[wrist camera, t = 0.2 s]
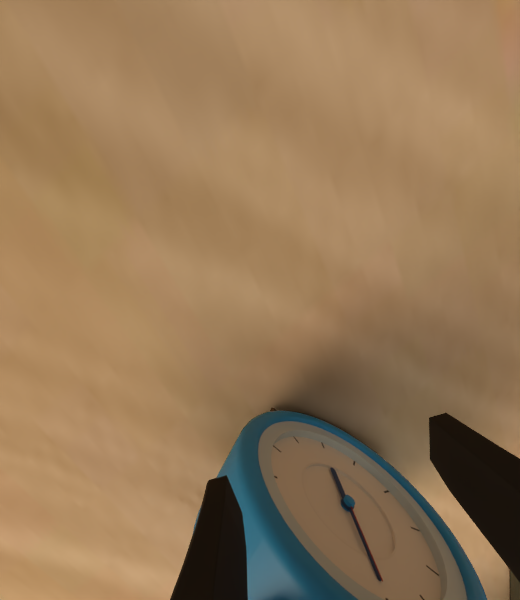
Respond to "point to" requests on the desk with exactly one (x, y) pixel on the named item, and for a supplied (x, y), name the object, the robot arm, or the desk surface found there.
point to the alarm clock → (337, 519)
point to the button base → (514, 587)
